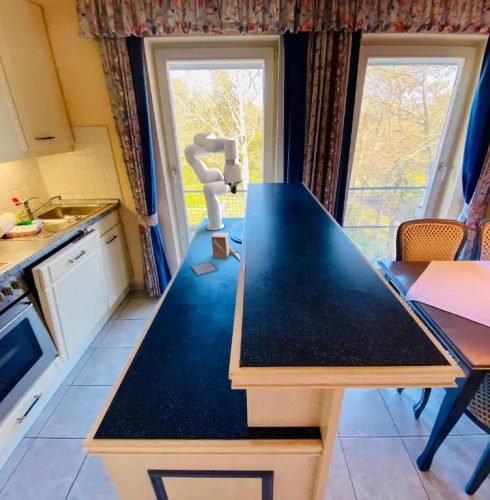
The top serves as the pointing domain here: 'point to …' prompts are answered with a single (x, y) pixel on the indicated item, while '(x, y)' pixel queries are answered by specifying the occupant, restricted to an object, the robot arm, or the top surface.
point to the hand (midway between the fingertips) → (233, 193)
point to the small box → (220, 245)
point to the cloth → (203, 268)
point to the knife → (234, 252)
